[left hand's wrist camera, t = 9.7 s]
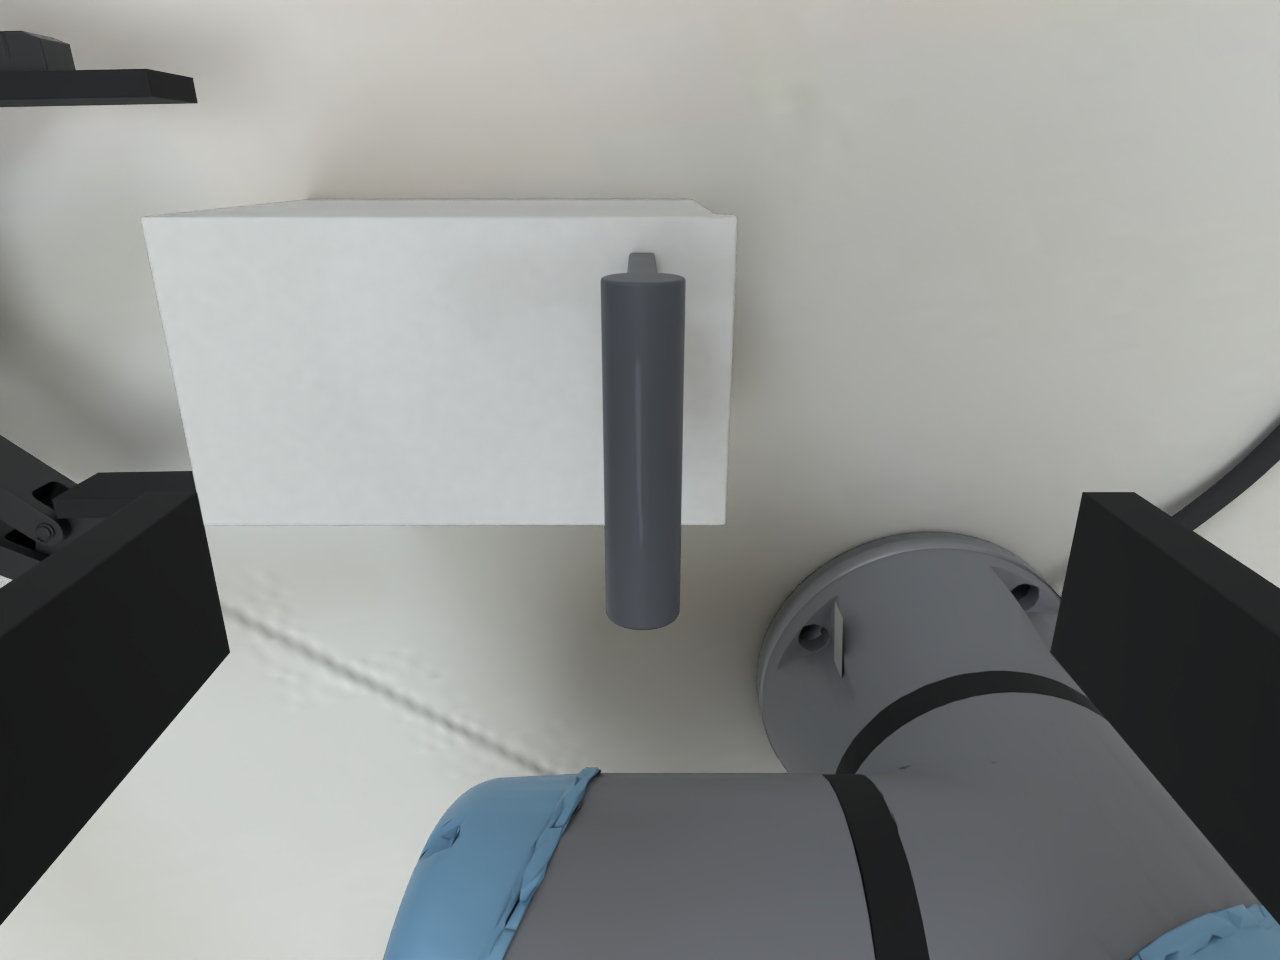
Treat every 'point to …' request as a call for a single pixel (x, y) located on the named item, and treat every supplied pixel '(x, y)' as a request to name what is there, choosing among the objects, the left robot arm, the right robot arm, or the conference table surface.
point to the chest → (467, 207)
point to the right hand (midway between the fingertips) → (218, 306)
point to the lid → (459, 375)
